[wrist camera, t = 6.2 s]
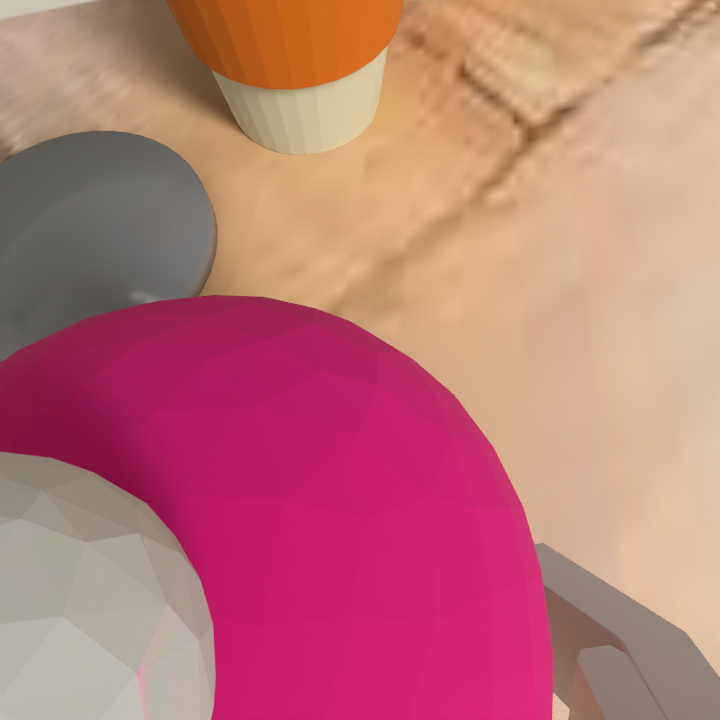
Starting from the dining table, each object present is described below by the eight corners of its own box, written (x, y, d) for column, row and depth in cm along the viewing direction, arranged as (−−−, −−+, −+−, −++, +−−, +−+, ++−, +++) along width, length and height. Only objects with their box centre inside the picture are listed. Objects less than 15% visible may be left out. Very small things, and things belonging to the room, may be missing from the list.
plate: (-105, 301, 24) (-129, 290, 23) (69, 117, 28) (56, 100, 27) (109, 422, 22) (95, 416, 20) (266, 199, 26) (261, 184, 25)
